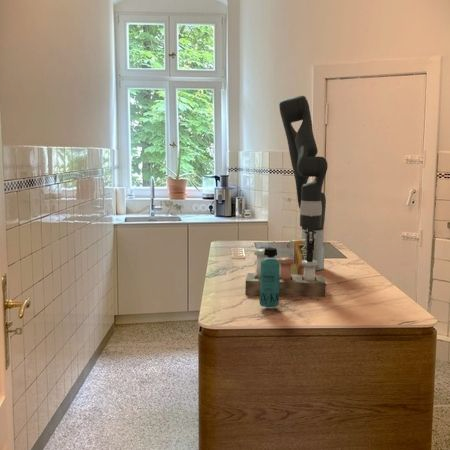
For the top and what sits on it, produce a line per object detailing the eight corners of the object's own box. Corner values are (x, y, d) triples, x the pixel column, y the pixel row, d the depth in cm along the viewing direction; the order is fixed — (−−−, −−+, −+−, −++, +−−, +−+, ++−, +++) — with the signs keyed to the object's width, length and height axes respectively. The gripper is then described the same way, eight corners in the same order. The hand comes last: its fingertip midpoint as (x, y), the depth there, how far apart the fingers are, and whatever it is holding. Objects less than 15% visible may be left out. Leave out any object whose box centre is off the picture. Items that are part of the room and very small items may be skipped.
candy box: (308, 275, 219) (309, 238, 216) (313, 277, 215) (314, 240, 212) (289, 277, 216) (289, 239, 213) (293, 279, 212) (294, 241, 209)
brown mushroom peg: (285, 284, 197) (286, 256, 196) (296, 287, 193) (296, 259, 191) (274, 286, 194) (274, 258, 193) (284, 290, 190) (285, 261, 188)
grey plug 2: (308, 287, 196) (309, 259, 195) (320, 290, 192) (320, 261, 191) (297, 289, 193) (298, 261, 192) (309, 292, 189) (309, 263, 187)
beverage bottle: (257, 306, 175) (258, 246, 172) (277, 306, 176) (278, 246, 173) (260, 312, 169) (261, 250, 166) (281, 312, 169) (282, 250, 166)
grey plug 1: (262, 276, 198) (263, 248, 196) (272, 279, 193) (273, 250, 192) (251, 278, 195) (251, 249, 193) (261, 281, 190) (261, 252, 189)
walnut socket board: (245, 294, 189) (245, 280, 189) (247, 286, 201) (247, 273, 200) (325, 297, 186) (326, 283, 186) (323, 288, 198) (323, 275, 197)
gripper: (299, 211, 196) (298, 257, 198) (300, 215, 183) (299, 265, 185) (320, 211, 195) (318, 258, 197) (322, 215, 182) (321, 265, 184)
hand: (309, 261), depth 191 cm, fingers closed
